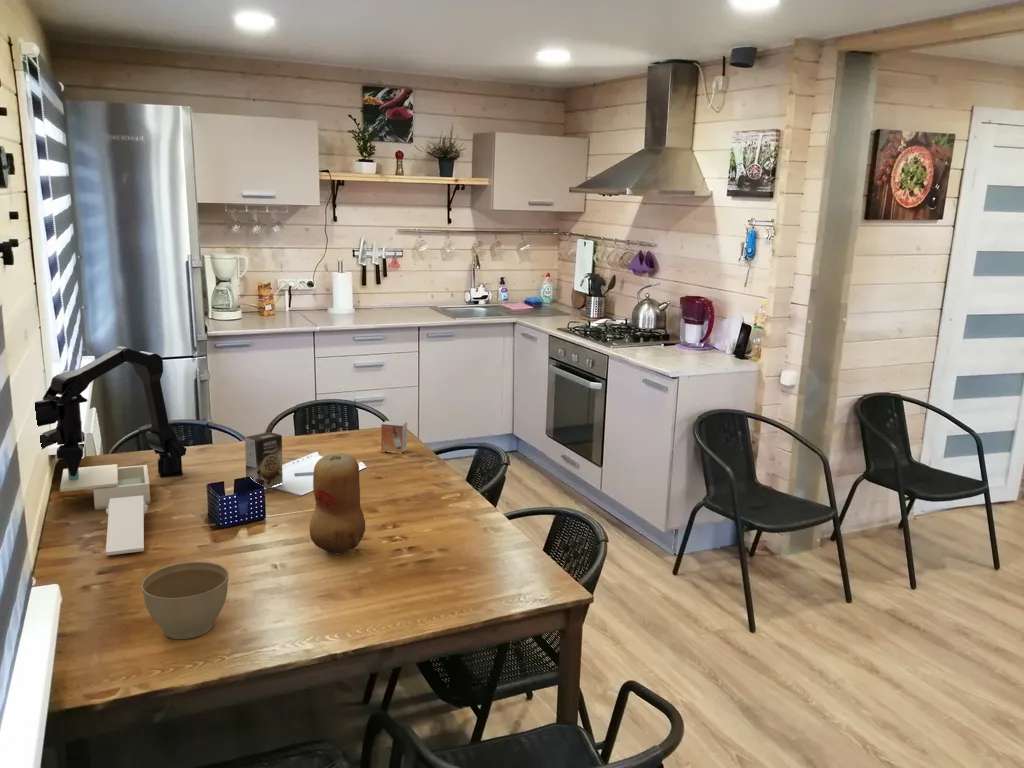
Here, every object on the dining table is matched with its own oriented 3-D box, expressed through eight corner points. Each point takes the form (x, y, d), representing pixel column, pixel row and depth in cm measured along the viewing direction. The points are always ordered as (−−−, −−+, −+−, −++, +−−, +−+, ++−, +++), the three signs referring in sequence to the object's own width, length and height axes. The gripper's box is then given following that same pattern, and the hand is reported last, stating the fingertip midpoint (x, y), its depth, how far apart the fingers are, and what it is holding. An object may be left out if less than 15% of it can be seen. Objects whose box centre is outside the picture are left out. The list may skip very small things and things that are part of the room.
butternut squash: (298, 555, 197) (296, 458, 192) (329, 536, 210) (329, 444, 204) (346, 566, 192) (346, 467, 187) (375, 546, 205) (376, 452, 199)
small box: (380, 452, 282) (380, 423, 280) (385, 448, 288) (385, 420, 286) (402, 454, 281) (402, 425, 279) (407, 450, 287) (407, 421, 284)
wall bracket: (144, 574, 197) (144, 519, 221) (151, 548, 196) (149, 496, 220) (99, 571, 192) (104, 515, 216) (105, 544, 191) (109, 491, 215)
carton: (147, 483, 243) (146, 464, 241) (150, 503, 227) (149, 483, 226) (95, 489, 236) (94, 469, 235) (94, 510, 221) (93, 489, 219)
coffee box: (258, 492, 239) (256, 440, 235) (245, 487, 243) (243, 436, 239) (283, 485, 246) (282, 434, 243) (270, 480, 250) (269, 430, 246)
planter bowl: (181, 603, 172) (179, 556, 170) (246, 616, 167) (245, 568, 165) (126, 640, 157) (122, 589, 154) (196, 656, 152) (193, 603, 150)
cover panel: (117, 466, 238) (116, 447, 237) (117, 485, 222) (116, 465, 221) (63, 471, 232) (62, 452, 230) (60, 491, 216) (58, 471, 215)
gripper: (38, 414, 226) (43, 466, 229) (32, 431, 210) (37, 487, 213) (82, 411, 231) (86, 462, 234) (80, 427, 215) (85, 482, 218)
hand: (73, 473), depth 225 cm, fingers closed on cover panel, 4 cm apart
